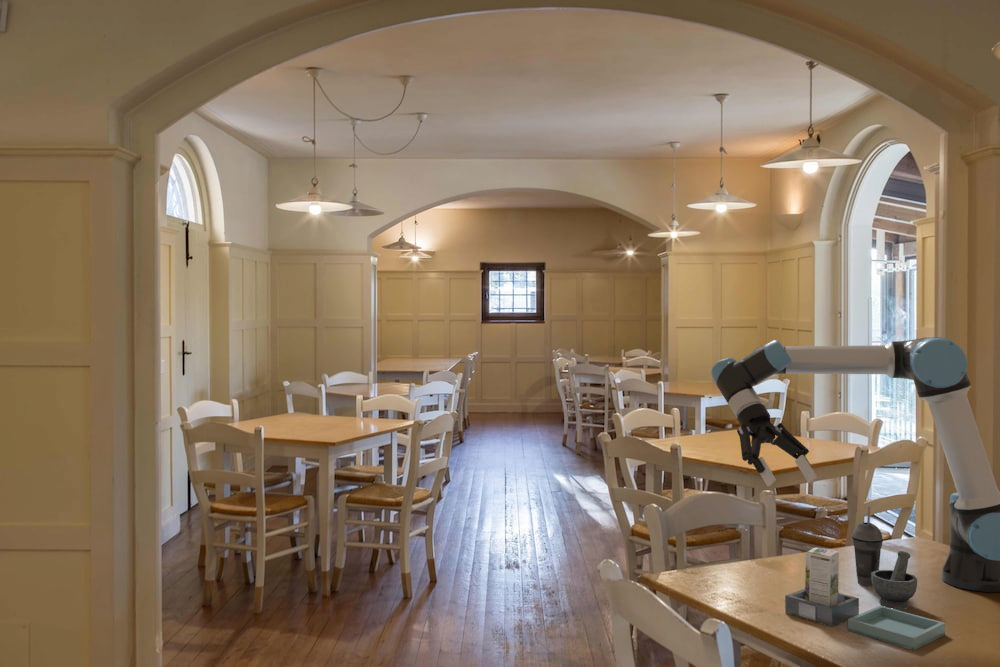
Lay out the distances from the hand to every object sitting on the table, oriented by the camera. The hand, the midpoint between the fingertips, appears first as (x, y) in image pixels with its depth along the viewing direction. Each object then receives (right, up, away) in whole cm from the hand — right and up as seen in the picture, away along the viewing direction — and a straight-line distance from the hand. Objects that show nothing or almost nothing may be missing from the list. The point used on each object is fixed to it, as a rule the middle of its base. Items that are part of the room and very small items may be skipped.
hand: (792, 481), depth 195 cm
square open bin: (+4, -29, -8) cm, 30 cm away
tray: (+15, -29, -20) cm, 38 cm away
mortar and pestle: (+24, -29, -1) cm, 37 cm away
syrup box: (+4, -29, -8) cm, 30 cm away
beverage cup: (+24, -29, +14) cm, 40 cm away
